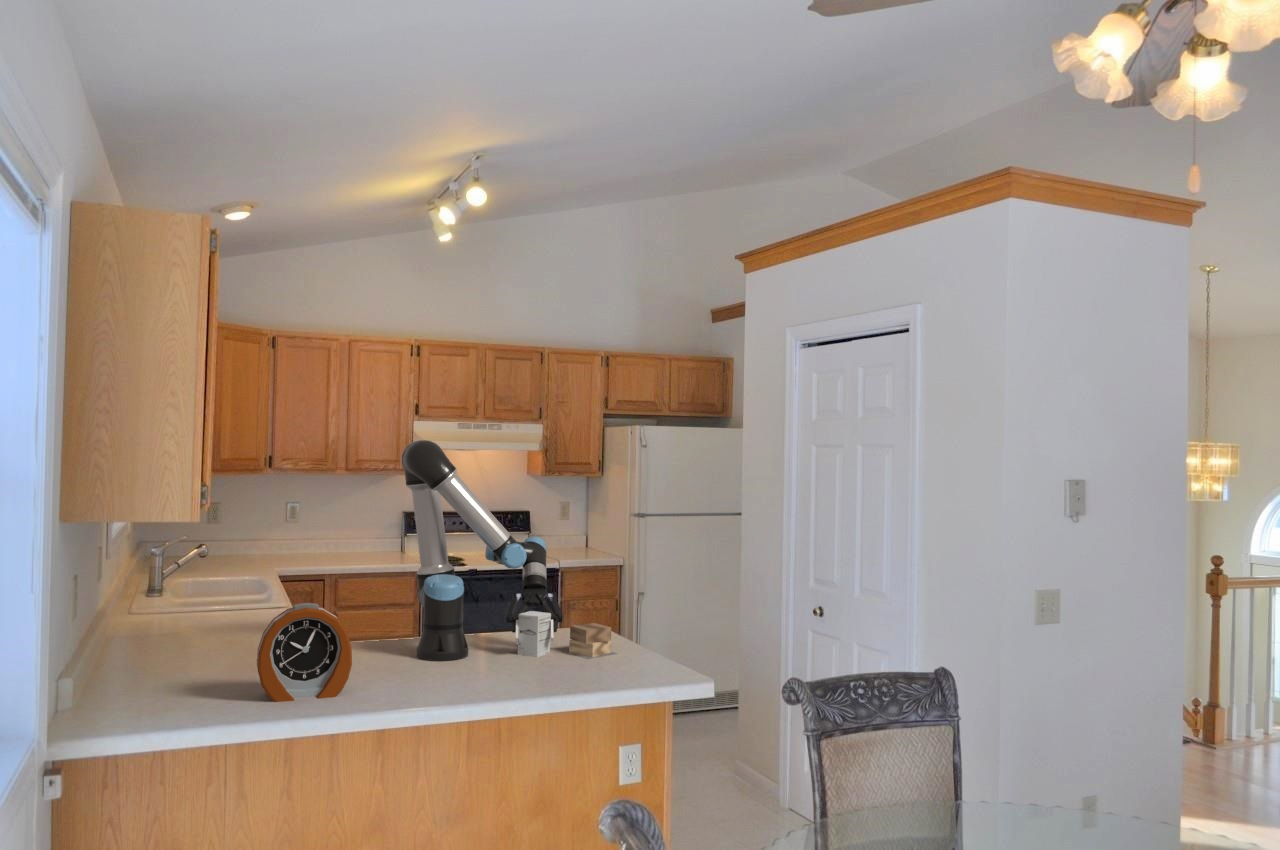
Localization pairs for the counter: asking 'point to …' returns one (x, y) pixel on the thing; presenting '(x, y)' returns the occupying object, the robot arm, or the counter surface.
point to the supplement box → (534, 633)
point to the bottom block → (589, 648)
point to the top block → (590, 633)
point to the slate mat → (591, 657)
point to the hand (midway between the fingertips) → (534, 640)
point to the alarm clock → (304, 654)
